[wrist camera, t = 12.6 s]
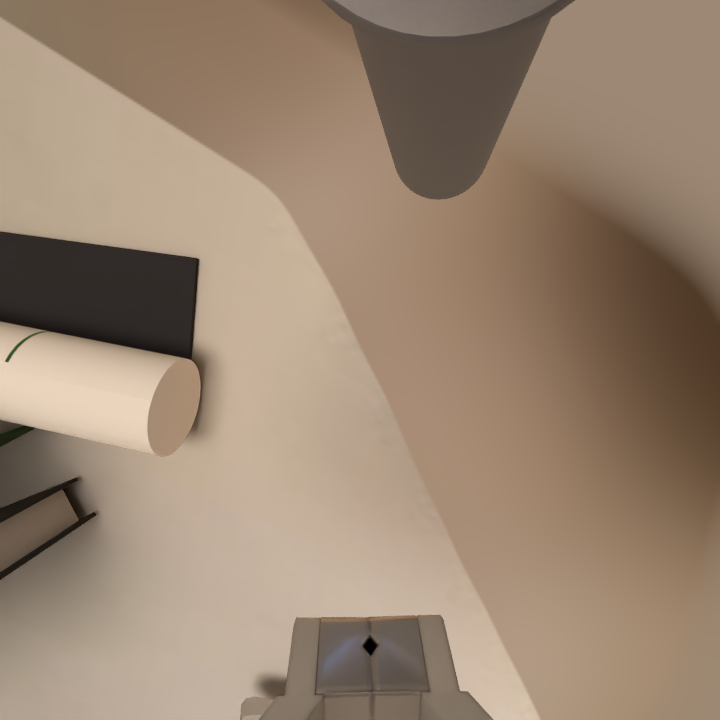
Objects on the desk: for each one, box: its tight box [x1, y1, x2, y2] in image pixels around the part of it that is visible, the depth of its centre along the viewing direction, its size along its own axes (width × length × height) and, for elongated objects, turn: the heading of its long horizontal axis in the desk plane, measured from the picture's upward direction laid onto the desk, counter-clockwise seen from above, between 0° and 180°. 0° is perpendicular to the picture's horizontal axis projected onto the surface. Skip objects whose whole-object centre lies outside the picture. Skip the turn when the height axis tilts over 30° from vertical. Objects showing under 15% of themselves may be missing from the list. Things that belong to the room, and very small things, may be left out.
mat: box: [0, 232, 199, 360], centre depth 39 cm, size 14×22×1 cm, turn 82°
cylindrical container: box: [0, 322, 201, 457], centre depth 36 cm, size 7×7×25 cm
